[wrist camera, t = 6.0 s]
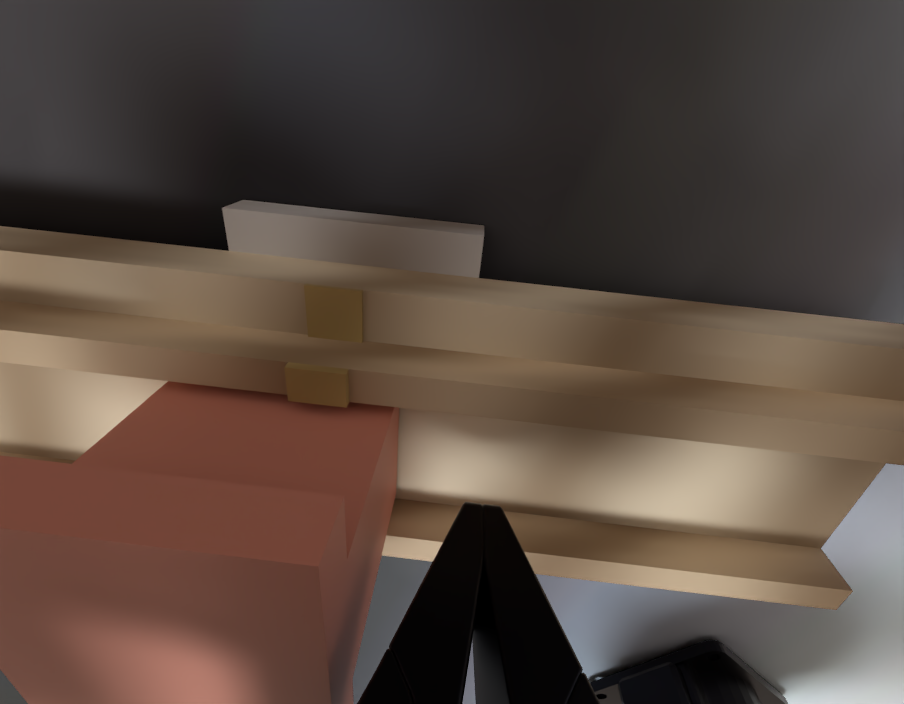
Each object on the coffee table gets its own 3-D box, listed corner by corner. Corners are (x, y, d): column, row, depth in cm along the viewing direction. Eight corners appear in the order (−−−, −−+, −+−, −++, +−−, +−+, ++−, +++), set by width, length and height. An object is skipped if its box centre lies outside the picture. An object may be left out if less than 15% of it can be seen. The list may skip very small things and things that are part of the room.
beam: (896, 269, 11) (1091, 345, 7) (731, 541, 15) (799, 663, 12) (-149, 157, 11) (-432, 180, 8) (11, 456, 16) (-118, 551, 13)
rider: (401, 339, 10) (317, 566, 5) (394, 525, 12) (339, 780, 8) (175, 314, 10) (-126, 512, 5) (221, 505, 13) (60, 744, 8)
